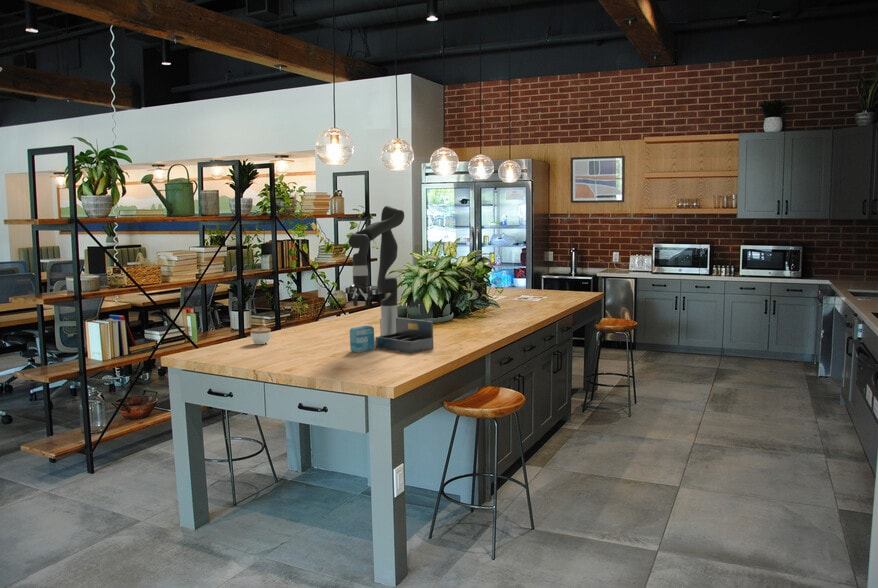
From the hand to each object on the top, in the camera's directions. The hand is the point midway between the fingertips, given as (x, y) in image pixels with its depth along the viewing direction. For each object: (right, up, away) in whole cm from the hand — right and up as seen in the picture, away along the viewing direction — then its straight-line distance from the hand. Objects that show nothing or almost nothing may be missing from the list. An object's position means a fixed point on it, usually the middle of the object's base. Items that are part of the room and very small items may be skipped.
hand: (361, 306), depth 349 cm
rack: (+21, -21, +7) cm, 31 cm away
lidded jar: (-57, -21, +28) cm, 67 cm away
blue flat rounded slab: (0, -22, +3) cm, 23 cm away
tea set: (+28, -10, +102) cm, 106 cm away
